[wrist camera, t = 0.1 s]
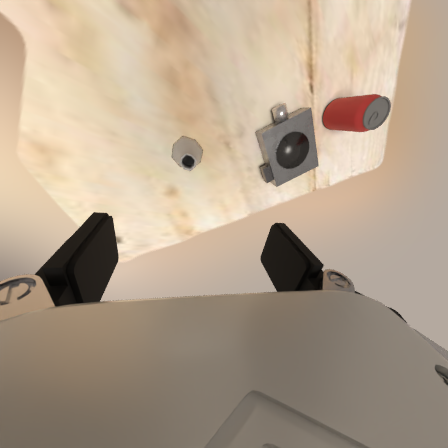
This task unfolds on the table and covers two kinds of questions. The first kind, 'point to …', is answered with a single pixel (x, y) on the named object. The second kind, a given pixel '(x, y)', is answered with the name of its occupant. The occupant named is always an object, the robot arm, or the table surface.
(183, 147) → the flask
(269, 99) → the table surface
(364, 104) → the beer can
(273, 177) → the motor housing
